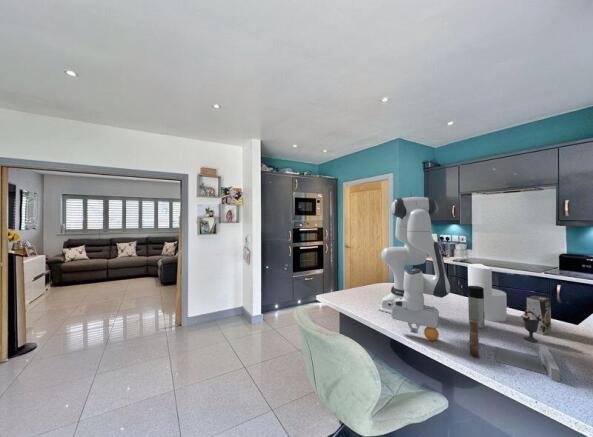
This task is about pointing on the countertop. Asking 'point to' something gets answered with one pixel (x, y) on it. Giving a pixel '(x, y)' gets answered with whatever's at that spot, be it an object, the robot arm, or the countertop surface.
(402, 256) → the robot arm
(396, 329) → the countertop surface
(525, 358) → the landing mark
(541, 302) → the coffee box
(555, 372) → the bar
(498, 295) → the cylinder
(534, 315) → the sundae
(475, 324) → the post
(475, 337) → the post
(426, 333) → the ball
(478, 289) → the spray can
